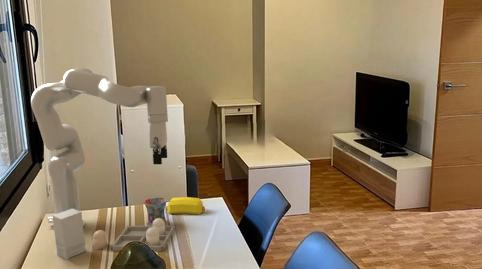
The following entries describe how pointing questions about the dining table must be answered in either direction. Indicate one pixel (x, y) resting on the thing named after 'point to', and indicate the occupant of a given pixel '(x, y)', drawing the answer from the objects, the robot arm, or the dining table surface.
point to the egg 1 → (99, 240)
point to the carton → (141, 237)
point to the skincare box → (69, 233)
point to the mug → (155, 209)
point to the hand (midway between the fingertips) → (160, 161)
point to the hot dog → (185, 206)
